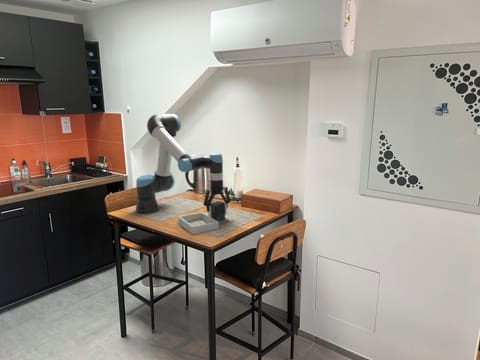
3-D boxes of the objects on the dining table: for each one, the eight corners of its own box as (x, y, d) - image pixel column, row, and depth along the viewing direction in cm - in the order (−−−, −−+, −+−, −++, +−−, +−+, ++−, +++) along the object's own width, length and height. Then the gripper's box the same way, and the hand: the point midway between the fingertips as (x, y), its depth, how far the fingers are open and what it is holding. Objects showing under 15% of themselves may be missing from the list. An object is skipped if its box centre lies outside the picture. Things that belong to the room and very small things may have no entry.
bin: (178, 222, 209) (178, 216, 208) (202, 218, 217) (202, 211, 216) (192, 234, 191) (192, 227, 190) (218, 228, 198) (218, 221, 198)
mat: (206, 219, 215) (206, 218, 215) (220, 216, 220) (220, 215, 220) (214, 224, 205) (214, 223, 205) (229, 221, 210) (229, 220, 210)
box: (219, 216, 217) (218, 200, 215) (225, 218, 213) (224, 202, 211) (209, 220, 211) (209, 203, 209) (215, 222, 207) (215, 205, 205)
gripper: (201, 182, 198) (203, 219, 203) (236, 178, 209) (236, 213, 214) (196, 180, 204) (198, 216, 209) (230, 176, 215) (230, 210, 220)
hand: (217, 214), depth 212 cm, fingers open, 10 cm apart
